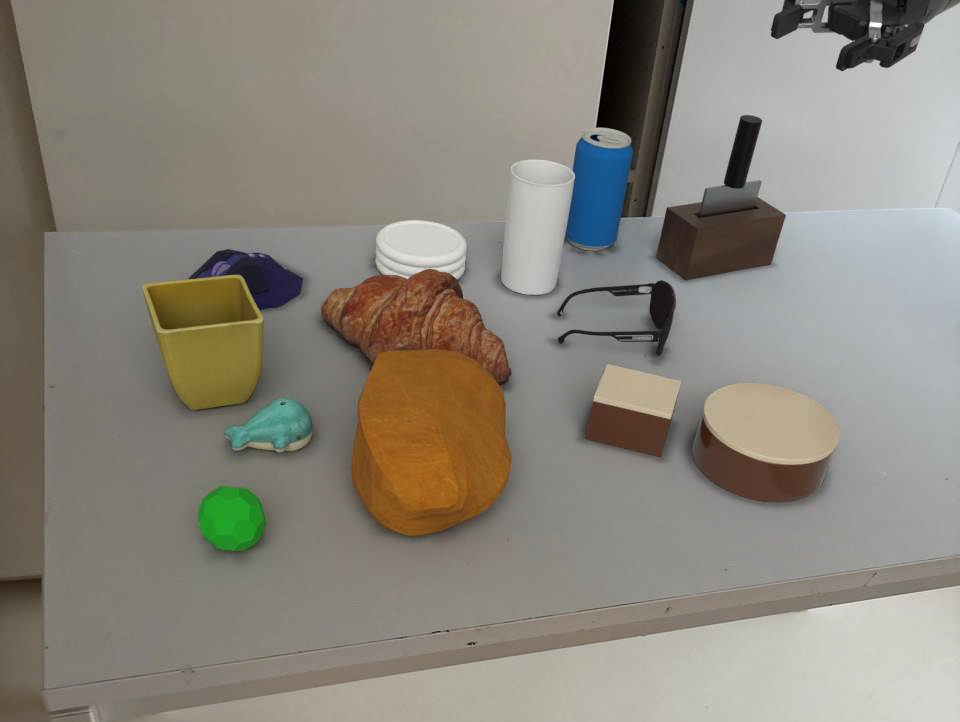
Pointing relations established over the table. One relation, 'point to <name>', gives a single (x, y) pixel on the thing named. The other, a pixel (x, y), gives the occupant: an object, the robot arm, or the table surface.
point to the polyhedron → (231, 518)
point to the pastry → (414, 319)
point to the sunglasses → (659, 311)
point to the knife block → (718, 239)
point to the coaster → (419, 249)
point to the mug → (535, 225)
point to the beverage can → (598, 188)
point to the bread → (429, 441)
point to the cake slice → (633, 410)
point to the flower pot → (208, 338)
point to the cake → (764, 442)
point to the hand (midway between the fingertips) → (807, 44)
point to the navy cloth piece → (254, 276)
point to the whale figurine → (274, 428)
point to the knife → (736, 175)
